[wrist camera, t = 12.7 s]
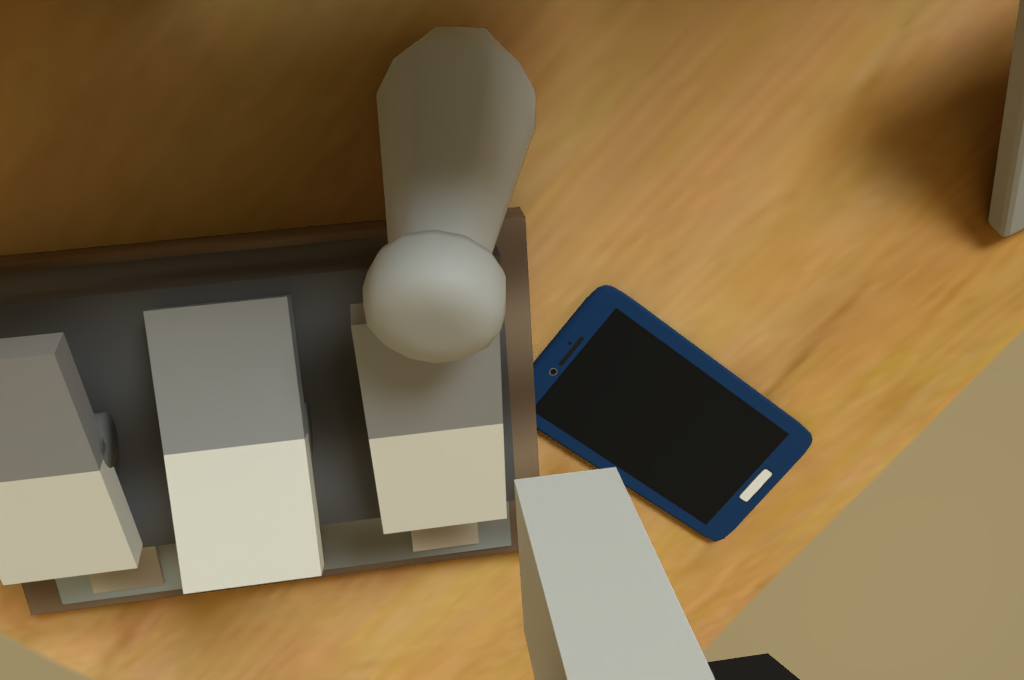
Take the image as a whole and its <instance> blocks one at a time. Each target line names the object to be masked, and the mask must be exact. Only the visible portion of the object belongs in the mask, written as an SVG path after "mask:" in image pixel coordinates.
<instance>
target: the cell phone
mask: <svg viewBox="0 0 1024 680" xmlns="http://www.w3.org/2000/svg"><path fill="white" fill-rule="evenodd" d="M533 370H534V388H535V406H536V425H537V429H538V430H540V431H542V432H543V433H545V434H546V435H548V436H549V437H551V438H552V439H554V440H556V441H557V442H559V443H560V444H562V445H563V446H565V447H566V448H568V449H569V450H571V451H573V452H574V453H576V454H577V455H579V456H580V457H582V458H583V459H585V460H587V461H588V462H590V463H591V464H593V465H594V466H596V467H597V468H599V469H604V468H612V467H616V468H617V470H618V473H619V475H620V477H621V479H622V481H623V483H624V485H625V486H627V487H628V488H630V489H632V490H633V491H635V492H636V493H638V494H639V495H641V496H642V497H644V498H646V499H647V500H649V501H650V502H652V503H653V504H655V505H656V506H658V507H660V508H661V509H663V510H664V511H666V512H667V513H669V514H670V515H672V516H673V517H675V518H677V519H678V520H680V521H681V522H683V523H684V524H686V525H687V526H689V527H691V528H692V529H694V530H695V531H697V532H698V533H700V534H701V535H703V536H705V537H707V538H709V539H711V540H713V541H718V540H721V539H724V538H725V537H726V536H727V535H728V534H730V533H731V532H732V531H733V530H734V529H735V528H736V527H737V526H738V525H739V524H740V523H741V522H742V521H743V519H744V518H745V517H746V516H747V515H748V514H749V513H750V512H751V511H752V510H753V509H754V508H755V506H756V505H757V504H758V503H759V502H760V501H761V500H762V499H763V498H764V497H765V496H766V495H767V493H768V492H769V491H770V490H771V489H772V488H773V487H774V486H775V485H776V484H777V483H778V482H779V481H780V479H781V478H782V477H783V476H784V475H785V474H786V473H787V472H788V471H789V470H790V469H791V468H792V466H793V465H794V464H795V463H796V462H797V461H798V460H799V459H800V458H801V457H802V456H803V455H804V453H805V452H806V451H807V449H808V448H809V446H810V445H811V443H812V436H811V433H810V432H809V431H808V430H807V429H806V428H805V427H804V426H802V425H801V424H800V423H799V422H798V421H796V420H795V419H794V418H792V417H791V416H790V415H788V414H787V413H786V412H784V411H783V410H782V409H780V408H779V407H778V406H776V405H775V404H774V403H772V402H771V401H769V400H768V399H767V398H765V397H764V396H763V395H761V394H760V393H759V392H757V391H756V390H755V389H753V388H752V387H751V386H749V385H748V384H747V383H745V382H744V381H742V380H741V379H740V378H738V377H737V376H736V375H734V374H733V373H732V372H730V371H729V370H728V369H726V368H725V367H724V366H722V365H721V364H720V363H718V362H717V361H715V360H714V359H713V358H711V357H710V356H709V355H707V354H706V353H705V352H703V351H702V350H701V349H699V348H698V347H697V346H695V345H694V344H693V343H691V342H690V341H688V340H687V339H686V338H684V337H683V336H682V335H680V334H679V333H678V332H676V331H675V330H674V329H672V328H671V327H670V326H668V325H667V324H666V323H664V322H663V321H662V320H660V319H659V318H657V317H656V316H655V315H653V314H652V313H651V312H649V311H648V310H647V309H645V308H644V307H643V306H641V305H640V304H639V303H637V302H636V301H634V300H633V299H632V298H630V297H629V296H627V295H626V294H624V293H623V292H621V291H620V290H618V289H616V288H614V287H612V286H608V285H604V286H601V287H599V288H597V289H596V290H595V291H594V292H592V293H591V294H590V295H589V296H588V297H587V298H586V299H585V301H584V302H583V303H582V304H581V306H580V307H579V308H578V309H577V310H576V312H575V313H574V314H573V315H572V316H571V318H570V319H569V320H568V321H567V323H566V324H565V325H564V326H563V327H562V329H561V330H560V331H559V332H558V334H557V335H556V336H555V337H554V338H553V340H552V341H551V342H550V343H549V344H548V346H547V347H546V348H545V349H544V351H543V352H542V353H541V354H540V355H539V357H538V358H537V359H536V360H535V361H534V363H533Z"/></svg>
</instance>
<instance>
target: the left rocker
mask: <svg viewBox="0 0 1024 680" xmlns="http://www.w3.org/2000/svg"><path fill="white" fill-rule="evenodd" d="M117 455H118V437H117V430H116V426H115V423H114V420H113V418H112V416H111V415H110V414H109V413H108V412H102V413H93V410H92V407H91V405H90V402H89V399H88V397H87V394H86V391H85V389H84V386H83V383H82V381H81V378H80V375H79V373H78V370H77V367H76V365H75V362H74V359H73V357H72V354H71V351H70V349H69V346H68V343H67V341H66V338H65V335H64V333H63V332H61V333H51V334H41V335H32V336H22V337H12V338H2V339H0V579H1V581H2V583H3V585H10V584H18V583H25V582H33V581H41V580H49V579H57V578H64V577H72V576H80V575H88V574H95V573H103V572H111V571H119V570H126V569H134V568H138V563H139V559H140V554H141V550H142V545H143V543H142V541H141V538H140V535H139V533H138V530H137V527H136V525H135V522H134V519H133V517H132V514H131V511H130V509H129V506H128V503H127V501H126V498H125V495H124V493H123V490H122V487H121V485H120V482H119V479H118V477H117V474H116V471H115V469H114V465H115V463H116V460H117Z"/></svg>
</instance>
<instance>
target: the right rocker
mask: <svg viewBox="0 0 1024 680" xmlns="http://www.w3.org/2000/svg"><path fill="white" fill-rule="evenodd" d="M350 312H351V330H352V336H353V343H354V349H355V355H356V362H357V368H358V374H359V381H360V387H361V393H362V400H363V406H364V412H365V419H366V425H367V431H368V438H369V444H370V450H371V457H372V463H373V469H374V476H375V482H376V488H377V495H378V501H379V507H380V514H381V520H382V526H383V533H384V534H389V533H397V532H405V531H413V530H420V529H428V528H436V527H444V526H452V525H459V524H467V523H475V522H483V521H491V520H498V519H506V518H507V509H506V484H505V458H504V433H503V408H502V382H501V357H500V332H499V333H498V334H497V336H496V337H495V339H494V340H493V341H492V343H491V344H490V345H489V347H488V348H485V349H483V350H481V351H479V352H477V353H475V354H473V355H471V356H468V357H466V358H464V359H462V360H460V361H451V362H443V363H431V362H426V361H420V360H415V359H410V358H408V357H406V356H404V355H402V354H400V353H398V352H396V351H394V350H392V349H390V348H389V347H387V346H386V345H384V344H383V343H382V342H381V341H380V340H379V339H378V337H377V336H376V335H375V334H374V333H373V332H372V331H371V329H370V328H369V327H368V326H367V322H366V317H365V311H364V306H363V303H359V304H350Z"/></svg>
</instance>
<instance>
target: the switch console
mask: <svg viewBox="0 0 1024 680" xmlns="http://www.w3.org/2000/svg"><path fill="white" fill-rule="evenodd" d="M386 244H388V236H387V223H386V220H379V221H368V222H357V223H347V224H336V225H326V226H315V227H304V228H294V229H283V230H273V231H262V232H251V233H241V234H230V235H220V236H209V237H198V238H188V239H177V240H167V241H156V242H145V243H135V244H124V245H114V246H103V247H92V248H82V249H71V250H61V251H50V252H39V253H29V254H18V255H8V256H0V339H2V338H12V337H22V336H32V335H41V334H51V333H61V332H63V333H64V335H65V338H66V341H67V343H68V346H69V349H70V351H71V354H72V357H73V359H74V362H75V365H76V367H77V370H78V373H79V375H80V378H81V381H82V383H83V386H84V389H85V391H86V394H87V397H88V399H89V402H90V405H91V407H92V410H93V413H102V412H108V413H109V414H110V415H111V416H112V418H113V420H114V423H115V426H116V430H117V437H118V455H117V460H116V463H115V465H114V469H115V471H116V474H117V477H118V479H119V482H120V485H121V487H122V490H123V493H124V495H125V498H126V501H127V503H128V506H129V509H130V511H131V514H132V517H133V519H134V522H135V525H136V527H137V530H138V533H139V535H140V538H141V541H142V543H143V545H142V550H141V554H140V559H139V563H138V568H134V569H126V570H119V571H111V572H103V573H95V574H88V575H80V576H72V577H64V578H57V579H49V580H41V581H33V582H25V583H21V584H22V587H23V590H24V593H25V596H26V599H27V602H28V605H29V608H30V611H31V615H38V614H45V613H53V612H61V611H68V610H76V609H83V608H91V607H98V606H106V605H113V604H121V603H129V602H136V601H144V600H151V599H159V598H166V597H174V596H182V595H189V594H197V593H204V592H212V591H219V590H227V589H234V588H242V587H250V586H257V585H265V584H272V583H280V582H287V581H295V580H302V579H310V578H318V577H325V576H333V575H340V574H348V573H355V572H363V571H371V570H378V569H386V568H393V567H401V566H408V565H416V564H423V563H431V562H439V561H446V560H454V559H461V558H469V557H476V556H484V555H491V554H499V553H507V552H514V551H519V547H518V532H517V517H516V502H515V487H514V480H515V479H523V478H531V477H539V461H538V443H537V425H536V406H535V388H534V370H533V352H532V333H531V315H530V297H529V279H528V260H527V242H526V224H525V216H524V214H523V212H522V210H521V209H520V207H517V208H508V209H507V211H506V214H505V217H504V220H503V223H502V226H501V229H500V232H499V235H498V238H497V241H496V244H495V247H494V250H493V252H492V255H493V256H494V257H495V259H496V260H497V262H498V263H499V265H500V266H501V267H502V269H503V271H504V274H505V276H506V310H505V317H504V321H503V324H502V328H501V330H500V357H501V382H502V408H503V433H504V458H505V484H506V509H507V518H506V519H498V520H491V521H483V522H475V523H467V524H459V525H452V526H444V527H436V528H428V529H420V530H413V531H405V532H397V533H389V534H384V533H383V526H382V520H381V514H380V507H379V501H378V495H377V488H376V482H375V476H374V469H373V463H372V457H371V450H370V444H369V438H368V431H367V425H366V419H365V412H364V406H363V400H362V393H361V387H360V381H359V374H358V368H357V362H356V355H355V349H354V343H353V336H352V330H351V312H350V304H359V303H363V285H364V281H365V278H366V274H367V272H368V270H369V268H370V266H371V264H372V263H373V261H374V259H375V257H376V256H377V254H378V252H379V251H380V250H381V248H382V247H383V246H385V245H386ZM283 295H291V299H292V307H293V315H294V323H295V331H296V339H297V347H298V356H299V364H300V372H301V380H302V388H303V396H304V403H307V404H308V407H309V411H310V417H311V424H312V433H313V455H312V457H311V461H312V469H313V477H314V485H315V493H316V501H317V509H318V518H319V526H320V534H321V542H322V550H323V558H324V568H323V572H322V576H317V577H309V578H302V579H294V580H286V581H279V582H271V583H264V584H256V585H249V586H241V587H233V588H226V589H218V590H211V591H203V592H196V593H188V594H183V588H182V581H181V574H180V567H179V560H178V553H177V546H176V539H175V532H174V525H173V518H172V511H171V504H170V496H169V489H168V482H167V475H166V468H165V461H164V454H163V447H162V440H161V433H160V426H159V419H158V412H157V405H156V398H155V391H154V384H153V377H152V370H151V363H150V356H149V349H148V342H147V335H146V327H145V320H144V313H143V311H146V310H150V309H155V308H165V307H175V306H184V305H194V304H204V303H214V302H224V301H234V300H244V299H253V298H263V297H273V296H283Z"/></svg>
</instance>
